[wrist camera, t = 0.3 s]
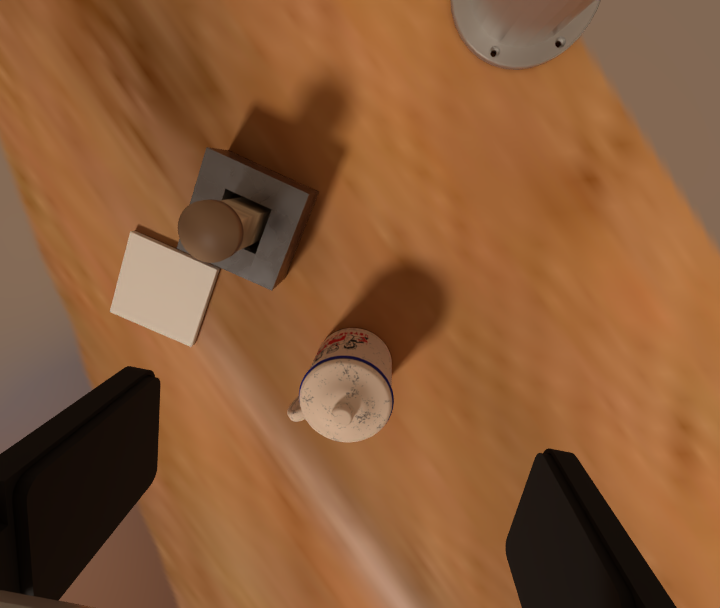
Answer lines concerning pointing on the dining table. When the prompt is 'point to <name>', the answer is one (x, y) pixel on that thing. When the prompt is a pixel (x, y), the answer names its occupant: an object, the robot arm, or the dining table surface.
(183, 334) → the tile
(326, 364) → the teacup with lid
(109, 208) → the dining table surface
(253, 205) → the peg
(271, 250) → the eye block
